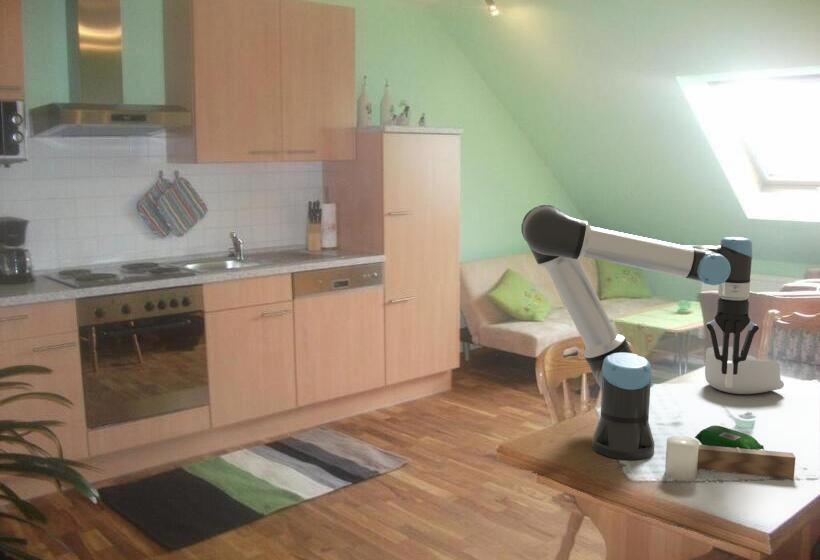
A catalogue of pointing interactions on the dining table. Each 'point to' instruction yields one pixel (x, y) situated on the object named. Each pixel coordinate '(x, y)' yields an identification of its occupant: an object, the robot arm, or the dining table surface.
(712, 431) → the snack package
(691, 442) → the white tall rounded block
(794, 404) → the dining table surface
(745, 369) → the bowl
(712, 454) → the batten
